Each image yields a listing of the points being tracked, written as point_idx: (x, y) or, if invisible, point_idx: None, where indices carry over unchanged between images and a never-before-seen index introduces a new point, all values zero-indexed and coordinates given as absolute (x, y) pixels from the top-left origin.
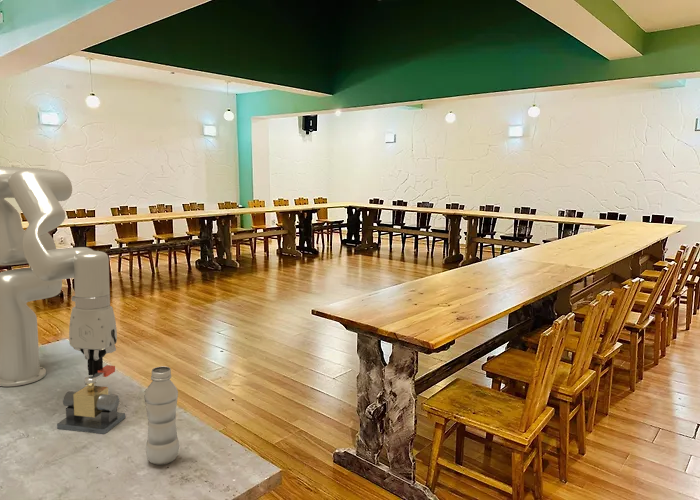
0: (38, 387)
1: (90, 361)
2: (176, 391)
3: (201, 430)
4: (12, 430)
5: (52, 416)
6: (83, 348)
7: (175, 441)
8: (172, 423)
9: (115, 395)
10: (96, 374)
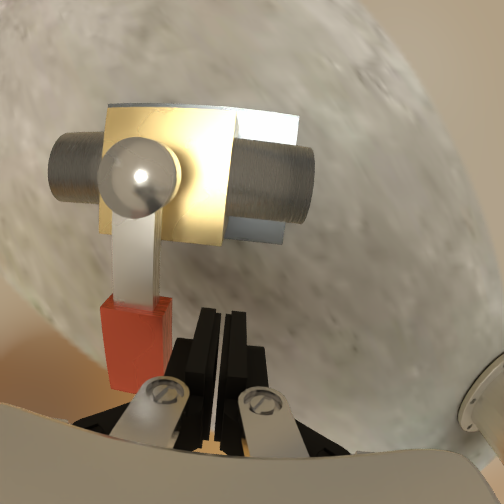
0: (460, 367)
1: (223, 371)
2: None
3: None
4: (422, 111)
5: (362, 206)
6: (276, 459)
7: None
8: None
9: (51, 181)
10: (139, 260)
